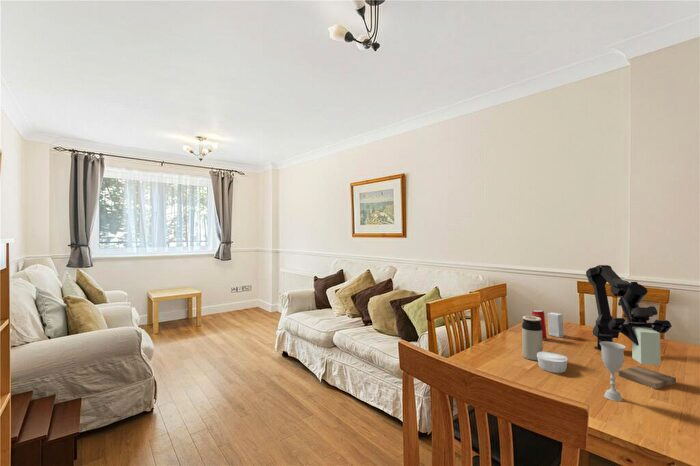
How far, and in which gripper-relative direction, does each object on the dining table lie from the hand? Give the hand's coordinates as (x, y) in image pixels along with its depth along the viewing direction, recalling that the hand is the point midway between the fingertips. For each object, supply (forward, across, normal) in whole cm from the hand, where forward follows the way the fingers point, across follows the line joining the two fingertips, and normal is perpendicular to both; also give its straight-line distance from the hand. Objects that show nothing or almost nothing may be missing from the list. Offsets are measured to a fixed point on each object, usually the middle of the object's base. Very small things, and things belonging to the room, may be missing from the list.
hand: (647, 345), depth 125 cm
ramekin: (+7, -31, +13) cm, 34 cm away
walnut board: (+9, 0, +10) cm, 13 cm away
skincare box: (-28, -16, +47) cm, 57 cm away
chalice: (+22, -18, -3) cm, 29 cm away
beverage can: (-22, -26, +42) cm, 54 cm away
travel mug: (-2, -36, +21) cm, 41 cm away
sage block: (+4, 0, +6) cm, 7 cm away
